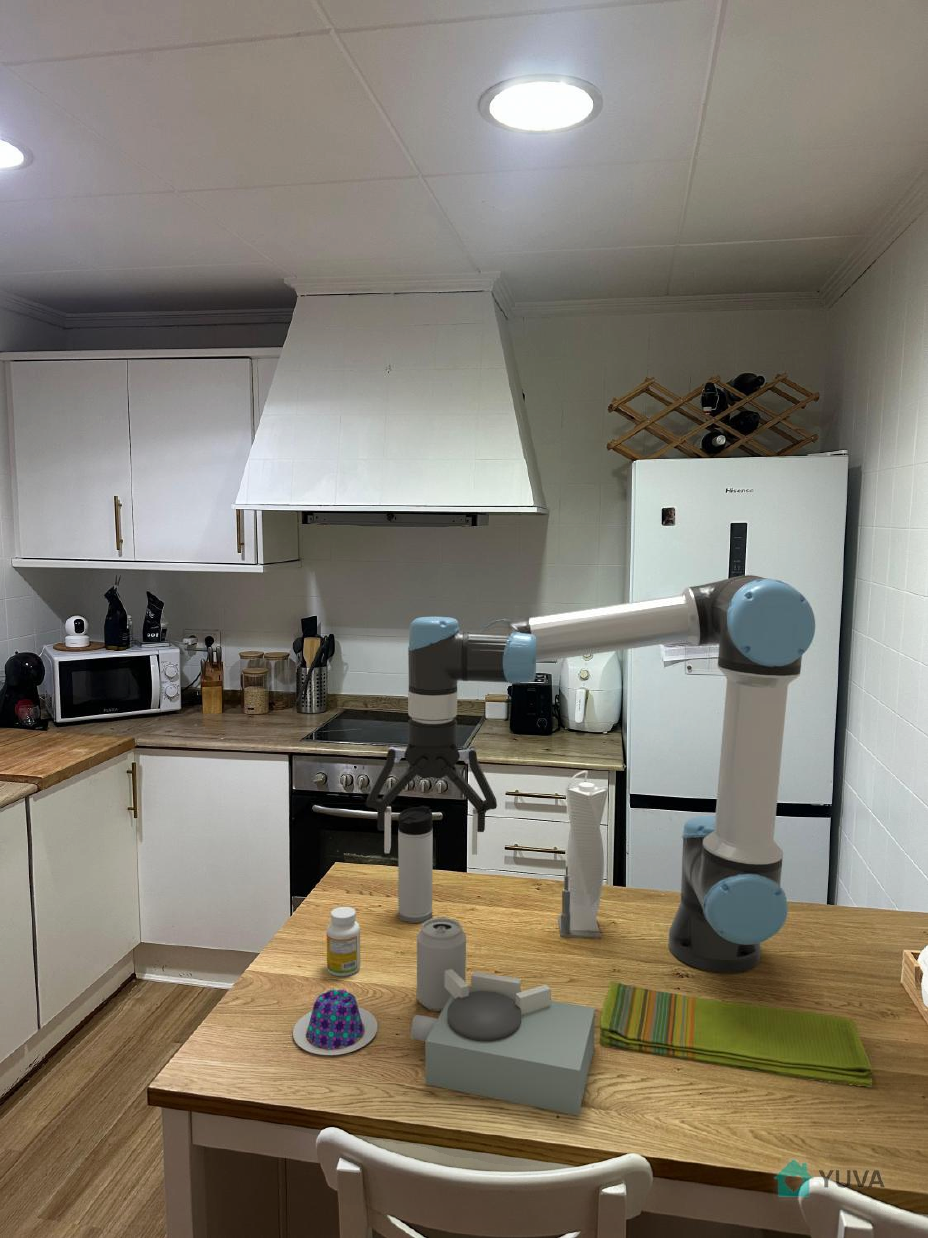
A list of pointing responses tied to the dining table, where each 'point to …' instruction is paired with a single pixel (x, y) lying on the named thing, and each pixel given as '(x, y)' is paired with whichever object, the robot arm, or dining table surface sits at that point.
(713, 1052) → the dish towel
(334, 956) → the supplement bottle
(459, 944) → the can
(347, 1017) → the pudding
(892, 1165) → the dining table surface
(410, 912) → the travel mug
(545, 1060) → the gearbox
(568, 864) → the skyscraper
